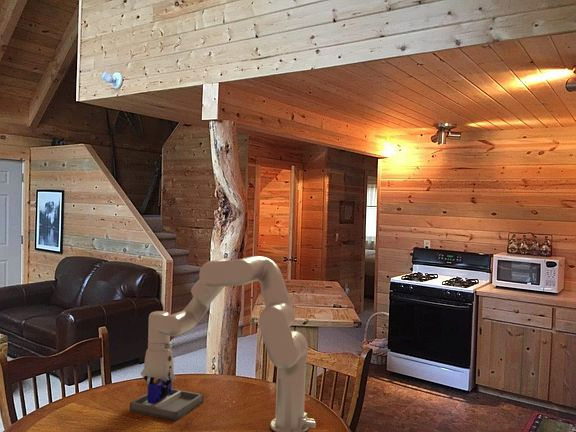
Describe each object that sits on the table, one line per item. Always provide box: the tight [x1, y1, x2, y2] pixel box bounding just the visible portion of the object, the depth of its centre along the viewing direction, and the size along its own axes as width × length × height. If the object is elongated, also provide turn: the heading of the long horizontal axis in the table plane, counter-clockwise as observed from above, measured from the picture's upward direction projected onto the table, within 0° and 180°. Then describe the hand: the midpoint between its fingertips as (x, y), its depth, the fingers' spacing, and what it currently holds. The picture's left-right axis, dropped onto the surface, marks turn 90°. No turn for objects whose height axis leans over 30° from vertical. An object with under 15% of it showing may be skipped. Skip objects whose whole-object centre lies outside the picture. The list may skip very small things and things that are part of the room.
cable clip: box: [147, 376, 172, 404], centre depth 183 cm, size 12×4×6 cm, turn 166°
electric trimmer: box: [154, 378, 162, 385], centre depth 201 cm, size 4×16×3 cm, turn 175°
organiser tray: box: [129, 387, 205, 422], centre depth 181 cm, size 19×18×3 cm
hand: (157, 395), depth 183 cm, fingers closed on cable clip, 4 cm apart
